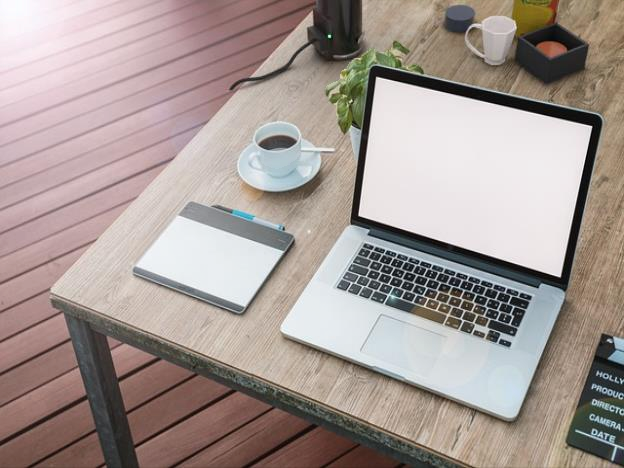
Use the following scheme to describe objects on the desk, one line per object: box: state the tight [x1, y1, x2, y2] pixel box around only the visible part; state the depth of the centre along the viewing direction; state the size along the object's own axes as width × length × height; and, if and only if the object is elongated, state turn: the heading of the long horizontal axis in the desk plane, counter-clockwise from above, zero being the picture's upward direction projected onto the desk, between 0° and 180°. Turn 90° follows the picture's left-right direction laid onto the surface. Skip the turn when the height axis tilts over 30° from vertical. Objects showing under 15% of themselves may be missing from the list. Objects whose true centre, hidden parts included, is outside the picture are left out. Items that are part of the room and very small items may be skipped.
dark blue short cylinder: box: [444, 4, 476, 33], centre depth 179 cm, size 6×6×3 cm
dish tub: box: [514, 21, 590, 85], centre depth 167 cm, size 10×10×6 cm
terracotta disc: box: [536, 41, 567, 58], centre depth 167 cm, size 6×6×3 cm
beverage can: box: [510, 0, 560, 40], centre depth 173 cm, size 9×9×12 cm
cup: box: [464, 15, 516, 66], centre depth 168 cm, size 7×10×8 cm
